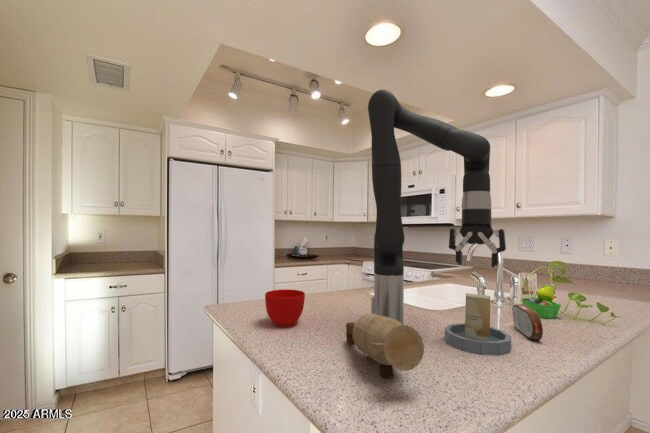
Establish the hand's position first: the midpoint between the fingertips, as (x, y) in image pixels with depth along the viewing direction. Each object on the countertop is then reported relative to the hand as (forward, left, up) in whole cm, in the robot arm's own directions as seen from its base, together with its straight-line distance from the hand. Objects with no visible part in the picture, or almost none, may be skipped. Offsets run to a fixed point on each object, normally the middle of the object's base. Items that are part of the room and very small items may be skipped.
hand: (476, 265), depth 87 cm
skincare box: (0, 0, -21) cm, 21 cm away
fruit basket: (+15, +47, -22) cm, 54 cm away
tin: (+11, +17, -22) cm, 30 cm away
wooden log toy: (-16, -29, -22) cm, 40 cm away
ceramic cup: (-56, -18, -22) cm, 63 cm away
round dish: (0, 0, -22) cm, 22 cm away
